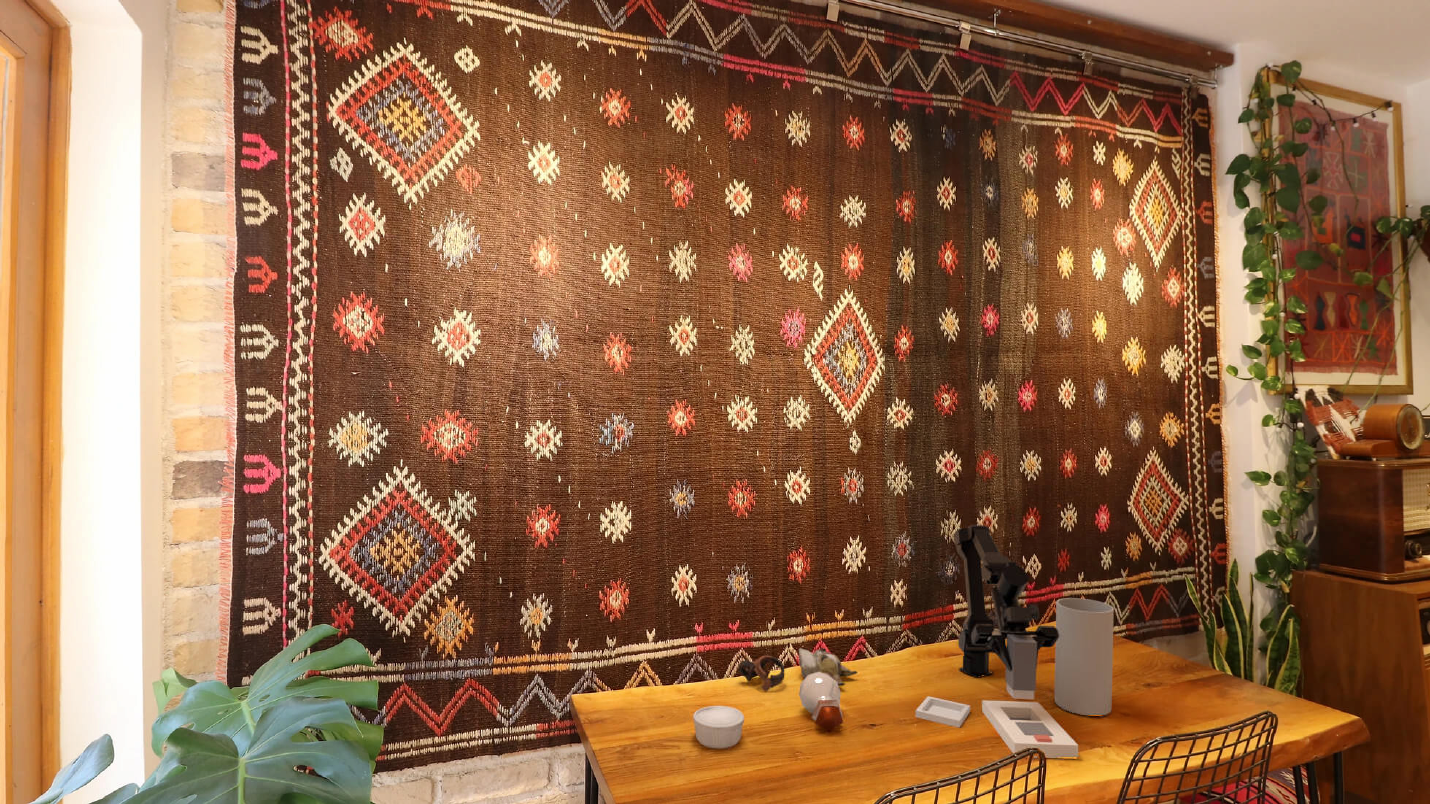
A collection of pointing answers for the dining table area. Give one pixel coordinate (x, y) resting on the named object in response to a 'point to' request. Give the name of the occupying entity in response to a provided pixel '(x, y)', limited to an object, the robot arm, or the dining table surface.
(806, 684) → the potion bottle
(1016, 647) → the plug
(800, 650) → the ceramic sculpture
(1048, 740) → the power strip
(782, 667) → the brown curved piece
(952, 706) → the tray
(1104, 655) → the cylinder vase
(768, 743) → the dining table surface
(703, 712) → the ramekin
